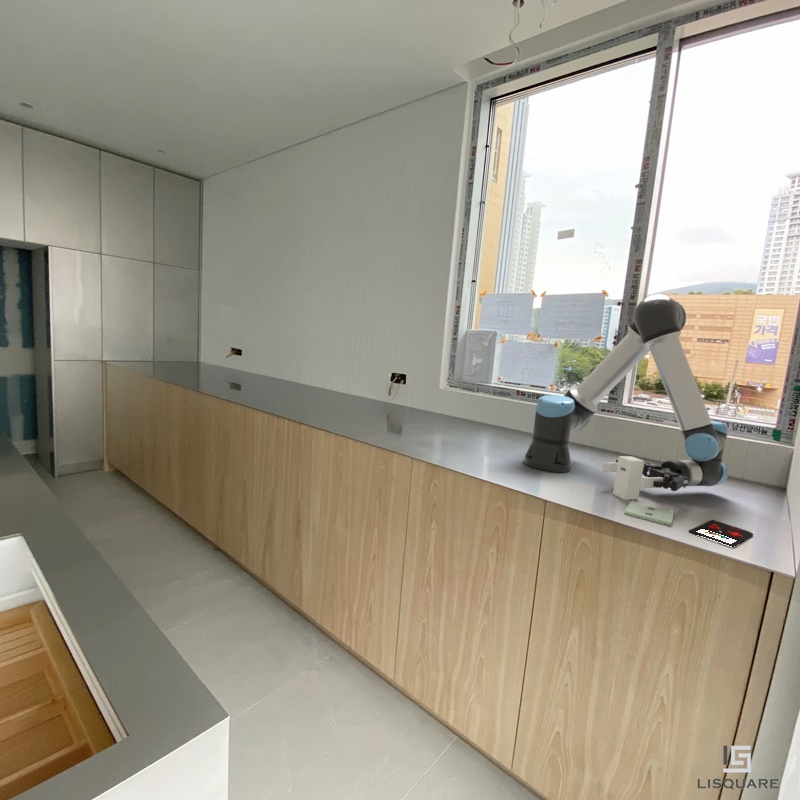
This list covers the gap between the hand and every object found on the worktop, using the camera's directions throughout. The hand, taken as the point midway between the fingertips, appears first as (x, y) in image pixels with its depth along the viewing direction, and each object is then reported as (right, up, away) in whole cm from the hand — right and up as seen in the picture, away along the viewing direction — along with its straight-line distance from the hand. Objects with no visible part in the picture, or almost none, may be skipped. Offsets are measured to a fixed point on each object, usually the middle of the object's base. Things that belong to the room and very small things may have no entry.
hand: (621, 474), depth 123 cm
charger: (+2, -6, +2) cm, 7 cm away
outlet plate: (+2, -8, -11) cm, 13 cm away
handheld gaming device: (+14, -11, -19) cm, 26 cm away
